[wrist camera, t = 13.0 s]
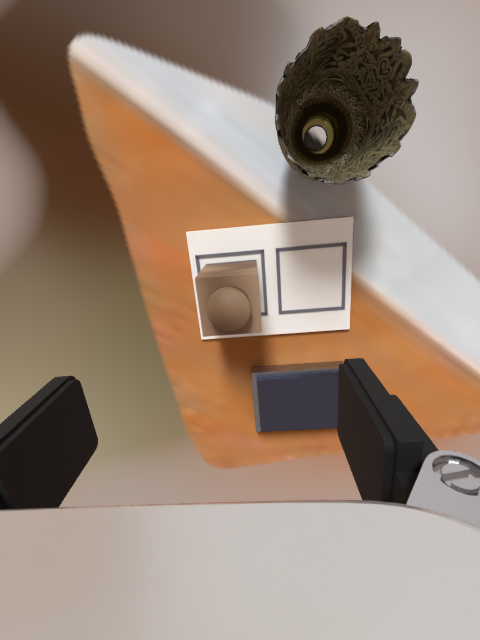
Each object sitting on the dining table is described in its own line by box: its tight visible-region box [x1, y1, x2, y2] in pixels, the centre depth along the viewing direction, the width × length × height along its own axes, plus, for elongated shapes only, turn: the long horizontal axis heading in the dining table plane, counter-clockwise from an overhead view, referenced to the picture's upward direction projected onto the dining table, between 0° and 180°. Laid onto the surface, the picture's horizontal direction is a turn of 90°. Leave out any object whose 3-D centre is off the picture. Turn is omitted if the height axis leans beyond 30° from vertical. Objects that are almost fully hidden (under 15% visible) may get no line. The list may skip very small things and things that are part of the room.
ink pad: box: [251, 361, 343, 432], centre depth 31 cm, size 9×7×2 cm
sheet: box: [186, 217, 353, 339], centre depth 27 cm, size 14×10×1 cm
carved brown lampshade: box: [275, 17, 419, 184], centre depth 20 cm, size 8×7×8 cm
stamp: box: [195, 260, 262, 337], centre depth 24 cm, size 4×4×7 cm
